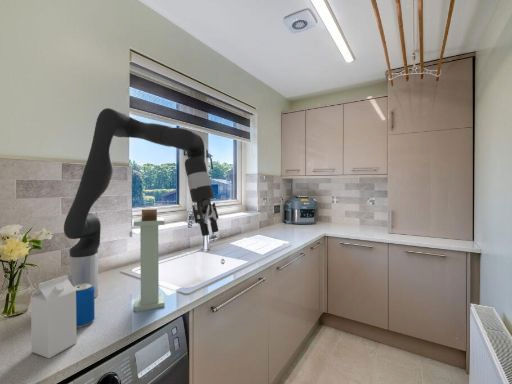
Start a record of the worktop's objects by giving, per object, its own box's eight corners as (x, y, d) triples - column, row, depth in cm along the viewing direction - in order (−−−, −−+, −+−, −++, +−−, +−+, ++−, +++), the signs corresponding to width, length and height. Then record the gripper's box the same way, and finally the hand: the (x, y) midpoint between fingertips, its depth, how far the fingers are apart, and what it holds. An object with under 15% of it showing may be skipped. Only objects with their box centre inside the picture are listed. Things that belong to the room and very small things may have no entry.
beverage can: (90, 315, 87) (90, 281, 87) (97, 322, 83) (97, 285, 83) (67, 323, 82) (67, 286, 82) (74, 331, 78) (73, 292, 78)
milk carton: (31, 352, 68) (30, 281, 67) (60, 337, 75) (59, 273, 74) (48, 359, 65) (47, 285, 65) (76, 343, 72) (76, 276, 72)
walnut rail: (156, 220, 92) (156, 209, 92) (141, 221, 90) (141, 209, 90) (156, 215, 107) (156, 206, 107) (143, 216, 105) (142, 206, 105)
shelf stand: (164, 308, 93) (164, 220, 92) (134, 313, 89) (133, 221, 88) (163, 297, 101) (163, 217, 101) (135, 302, 98) (135, 218, 97)
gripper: (199, 190, 95) (209, 233, 94) (180, 189, 81) (191, 239, 80) (217, 185, 94) (228, 228, 92) (201, 183, 80) (213, 233, 78)
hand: (210, 233), depth 86 cm, fingers open, 8 cm apart
